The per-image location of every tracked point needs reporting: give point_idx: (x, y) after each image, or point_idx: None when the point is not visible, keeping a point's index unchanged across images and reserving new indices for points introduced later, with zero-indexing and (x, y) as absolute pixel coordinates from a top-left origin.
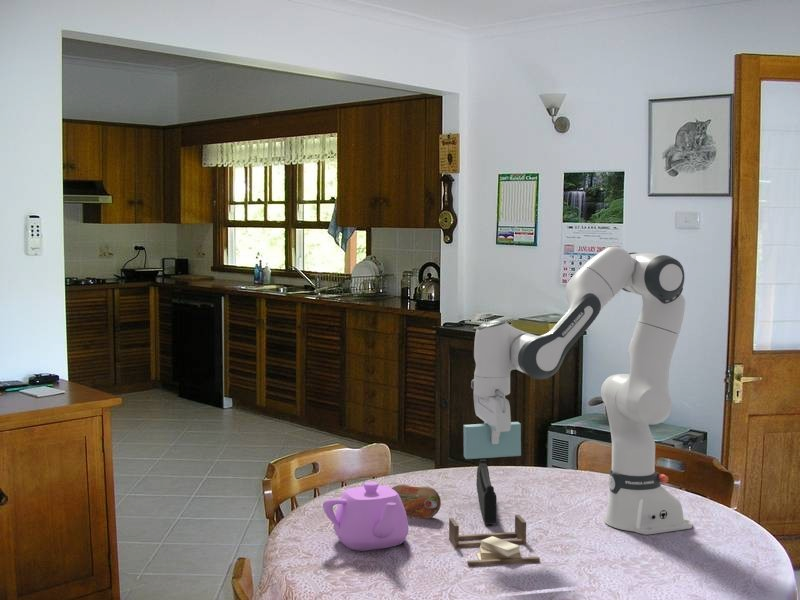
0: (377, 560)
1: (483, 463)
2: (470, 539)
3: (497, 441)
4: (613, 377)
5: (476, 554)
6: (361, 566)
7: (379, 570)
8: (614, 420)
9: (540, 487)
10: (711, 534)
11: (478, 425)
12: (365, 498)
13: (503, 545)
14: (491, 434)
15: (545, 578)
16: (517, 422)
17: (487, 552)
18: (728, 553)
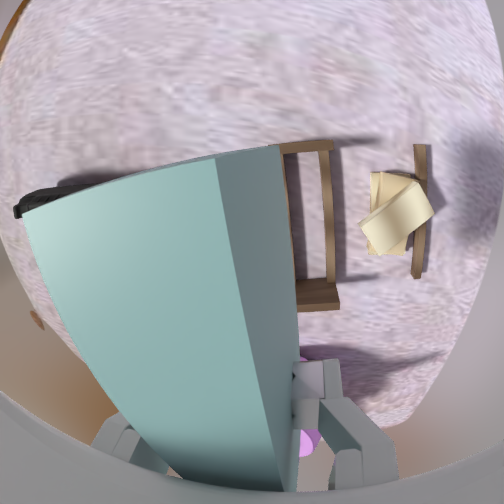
0: (349, 379)
1: (21, 211)
2: (293, 251)
3: (339, 375)
4: None
5: (374, 254)
6: (363, 391)
7: (382, 376)
8: None
9: (31, 102)
10: None
11: None
12: (305, 449)
13: (412, 216)
14: (332, 445)
15: (468, 158)
16: (59, 229)
17: (404, 243)
18: None
